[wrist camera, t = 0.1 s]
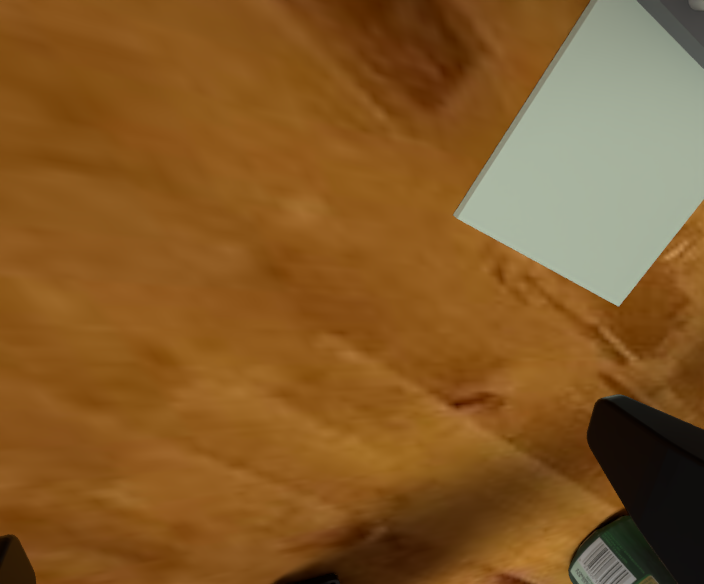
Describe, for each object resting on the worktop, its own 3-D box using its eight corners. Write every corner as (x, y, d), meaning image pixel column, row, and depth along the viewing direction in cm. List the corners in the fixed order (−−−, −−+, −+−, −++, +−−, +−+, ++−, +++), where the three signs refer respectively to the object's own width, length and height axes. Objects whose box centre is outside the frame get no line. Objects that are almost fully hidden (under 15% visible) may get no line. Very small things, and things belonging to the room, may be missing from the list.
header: (613, 302, 29) (705, 367, 24) (453, 215, 24) (528, 274, 19) (834, 21, 25) (1004, 28, 20) (699, -170, 19) (887, -228, 14)
